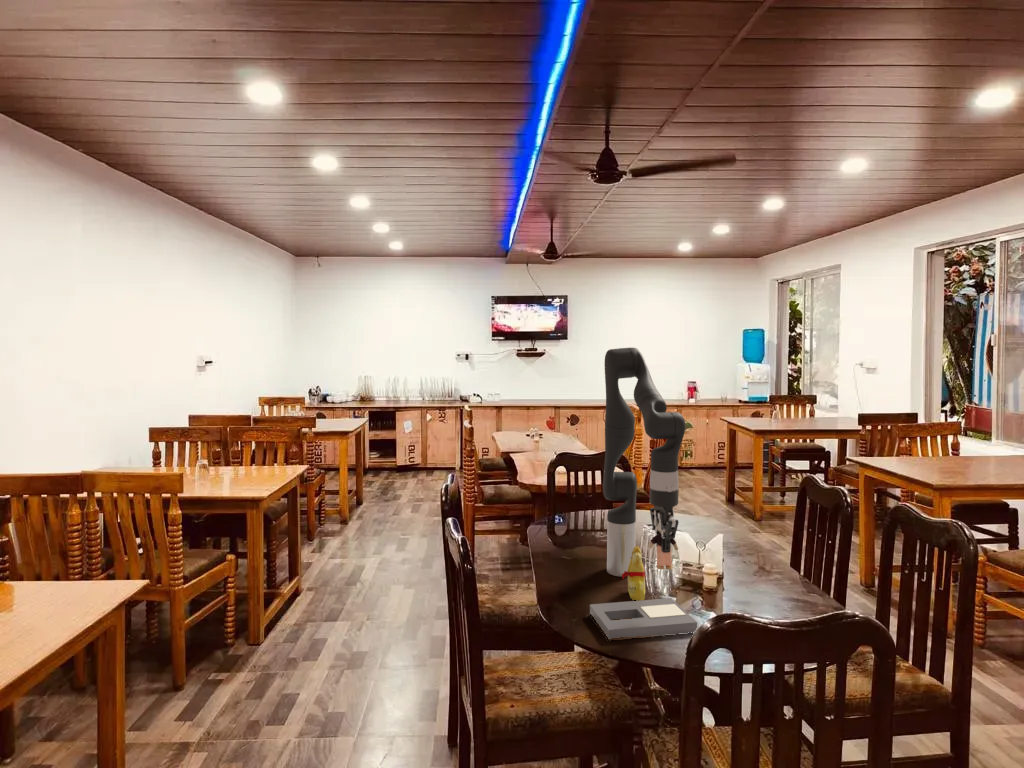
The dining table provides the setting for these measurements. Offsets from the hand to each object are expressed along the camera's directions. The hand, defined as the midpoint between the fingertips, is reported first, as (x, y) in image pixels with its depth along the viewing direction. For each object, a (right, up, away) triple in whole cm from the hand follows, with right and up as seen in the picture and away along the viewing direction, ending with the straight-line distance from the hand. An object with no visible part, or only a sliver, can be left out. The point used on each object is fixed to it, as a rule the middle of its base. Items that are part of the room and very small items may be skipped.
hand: (663, 549), depth 172 cm
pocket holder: (-6, -20, 0) cm, 21 cm away
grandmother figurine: (0, -5, 0) cm, 5 cm away
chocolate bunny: (-4, -19, +20) cm, 28 cm away
